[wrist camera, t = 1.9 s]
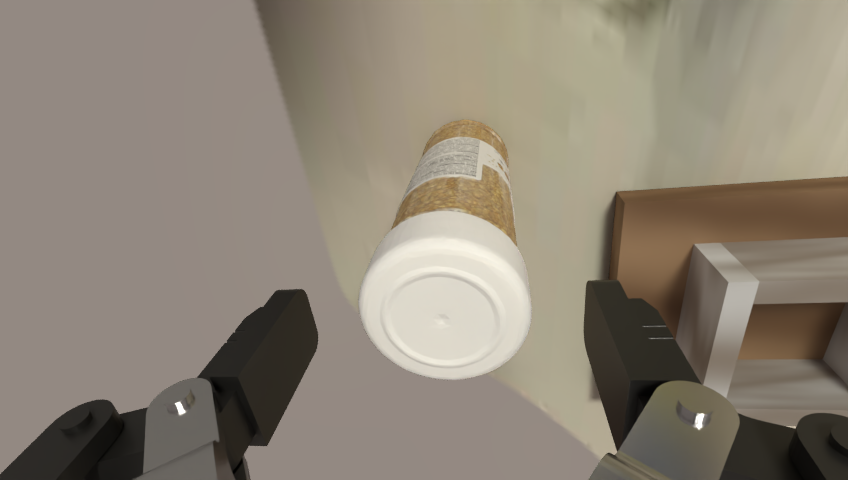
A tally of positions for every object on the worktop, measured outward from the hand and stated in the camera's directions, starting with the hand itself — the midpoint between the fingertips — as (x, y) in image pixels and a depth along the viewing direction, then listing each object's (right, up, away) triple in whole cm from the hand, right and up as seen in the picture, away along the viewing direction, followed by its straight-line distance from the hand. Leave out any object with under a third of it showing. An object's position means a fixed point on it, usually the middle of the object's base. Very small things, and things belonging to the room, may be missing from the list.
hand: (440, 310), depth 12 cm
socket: (+18, -1, +12) cm, 22 cm away
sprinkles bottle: (+2, +6, +11) cm, 12 cm away
